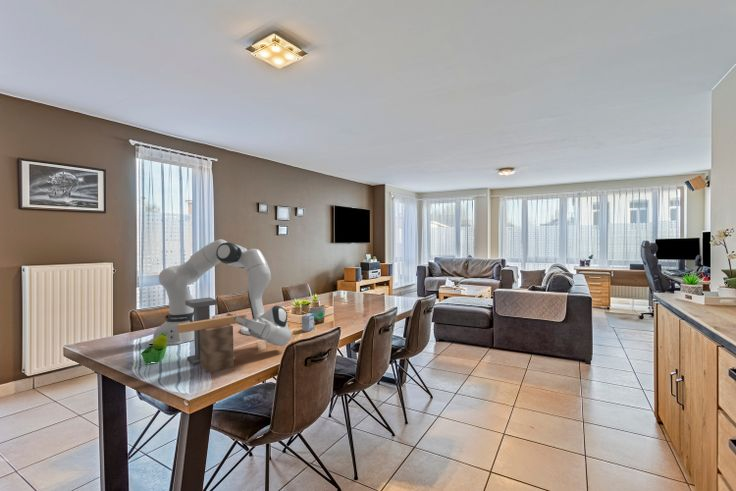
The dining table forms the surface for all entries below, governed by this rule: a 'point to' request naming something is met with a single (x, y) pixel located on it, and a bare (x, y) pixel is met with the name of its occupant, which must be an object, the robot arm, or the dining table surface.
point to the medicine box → (308, 322)
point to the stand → (199, 314)
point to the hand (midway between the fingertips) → (231, 316)
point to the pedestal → (216, 348)
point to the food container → (318, 314)
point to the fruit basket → (155, 350)
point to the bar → (208, 323)
